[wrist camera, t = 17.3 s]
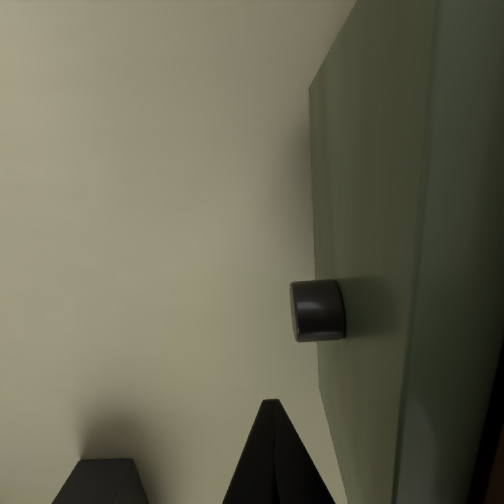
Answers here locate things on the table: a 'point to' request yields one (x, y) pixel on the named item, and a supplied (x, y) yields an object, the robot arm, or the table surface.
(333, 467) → the table surface
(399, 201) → the drawer
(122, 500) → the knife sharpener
